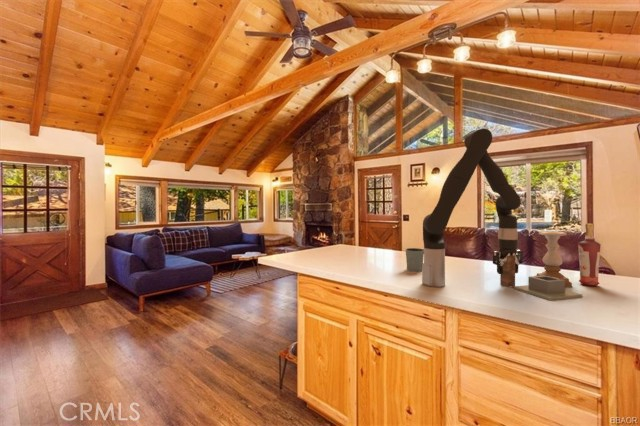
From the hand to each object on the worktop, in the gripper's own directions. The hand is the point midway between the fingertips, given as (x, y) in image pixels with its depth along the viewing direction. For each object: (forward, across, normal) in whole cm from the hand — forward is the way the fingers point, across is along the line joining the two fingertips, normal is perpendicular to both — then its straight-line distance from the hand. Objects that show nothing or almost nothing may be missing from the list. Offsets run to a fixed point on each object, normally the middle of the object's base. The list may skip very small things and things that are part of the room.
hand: (507, 273), depth 131 cm
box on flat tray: (+6, +6, -13) cm, 15 cm away
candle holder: (+6, +23, -2) cm, 24 cm away
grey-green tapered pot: (+6, -24, +39) cm, 46 cm away
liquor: (+6, +35, -9) cm, 37 cm away
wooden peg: (+6, 0, 0) cm, 6 cm away
